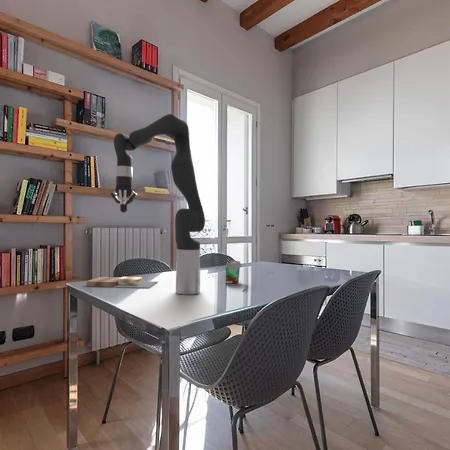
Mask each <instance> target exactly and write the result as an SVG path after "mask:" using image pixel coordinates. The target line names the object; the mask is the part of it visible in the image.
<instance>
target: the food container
mask: <svg viewBox="0 0 450 450" xmlns="http://www.w3.org/2000/svg"><path fill="white" fill-rule="evenodd" d="M241 267H242V262H241V261H239V260H230V262H226V263H225V285H226V284H235V285H238V284H239V280H240V279H239V278H240V271H241V270H240V269H241ZM237 283H238V284H237Z"/></svg>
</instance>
